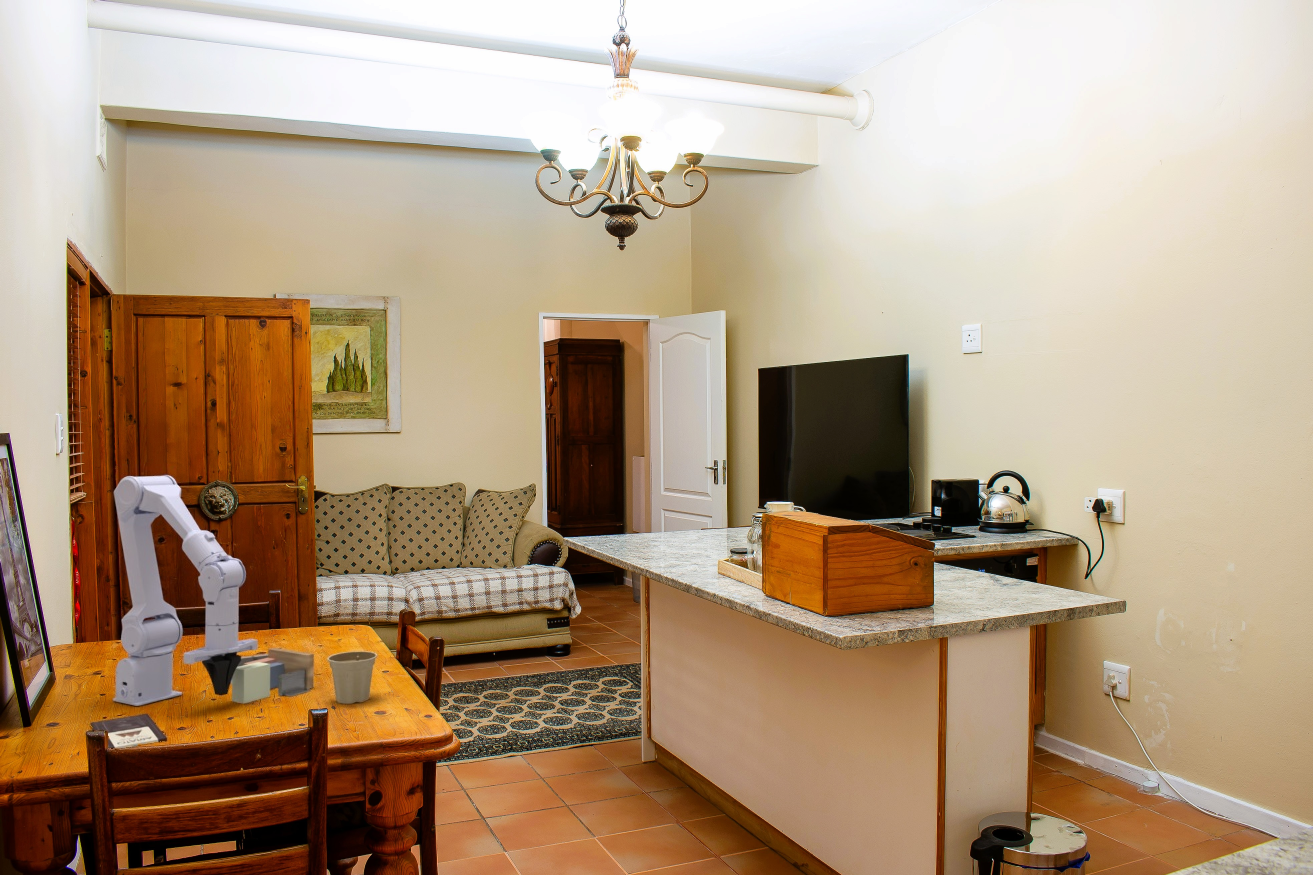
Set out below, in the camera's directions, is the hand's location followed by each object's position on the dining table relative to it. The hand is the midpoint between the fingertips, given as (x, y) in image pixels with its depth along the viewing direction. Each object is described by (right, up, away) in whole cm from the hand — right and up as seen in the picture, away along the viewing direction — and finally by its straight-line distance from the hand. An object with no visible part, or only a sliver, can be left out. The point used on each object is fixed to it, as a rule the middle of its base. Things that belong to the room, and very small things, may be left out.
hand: (221, 694), depth 174 cm
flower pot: (+23, -3, +5) cm, 24 cm away
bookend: (+9, -3, +11) cm, 14 cm away
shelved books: (+2, -3, +15) cm, 15 cm away
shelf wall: (+7, -3, +16) cm, 18 cm away
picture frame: (-4, -4, +29) cm, 29 cm away
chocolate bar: (-9, -3, -16) cm, 19 cm away
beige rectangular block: (+3, -3, +6) cm, 7 cm away
